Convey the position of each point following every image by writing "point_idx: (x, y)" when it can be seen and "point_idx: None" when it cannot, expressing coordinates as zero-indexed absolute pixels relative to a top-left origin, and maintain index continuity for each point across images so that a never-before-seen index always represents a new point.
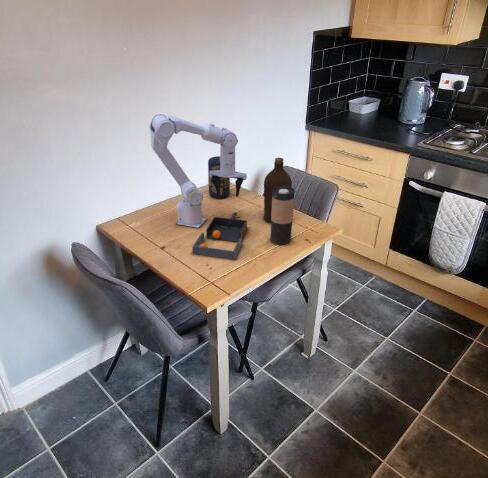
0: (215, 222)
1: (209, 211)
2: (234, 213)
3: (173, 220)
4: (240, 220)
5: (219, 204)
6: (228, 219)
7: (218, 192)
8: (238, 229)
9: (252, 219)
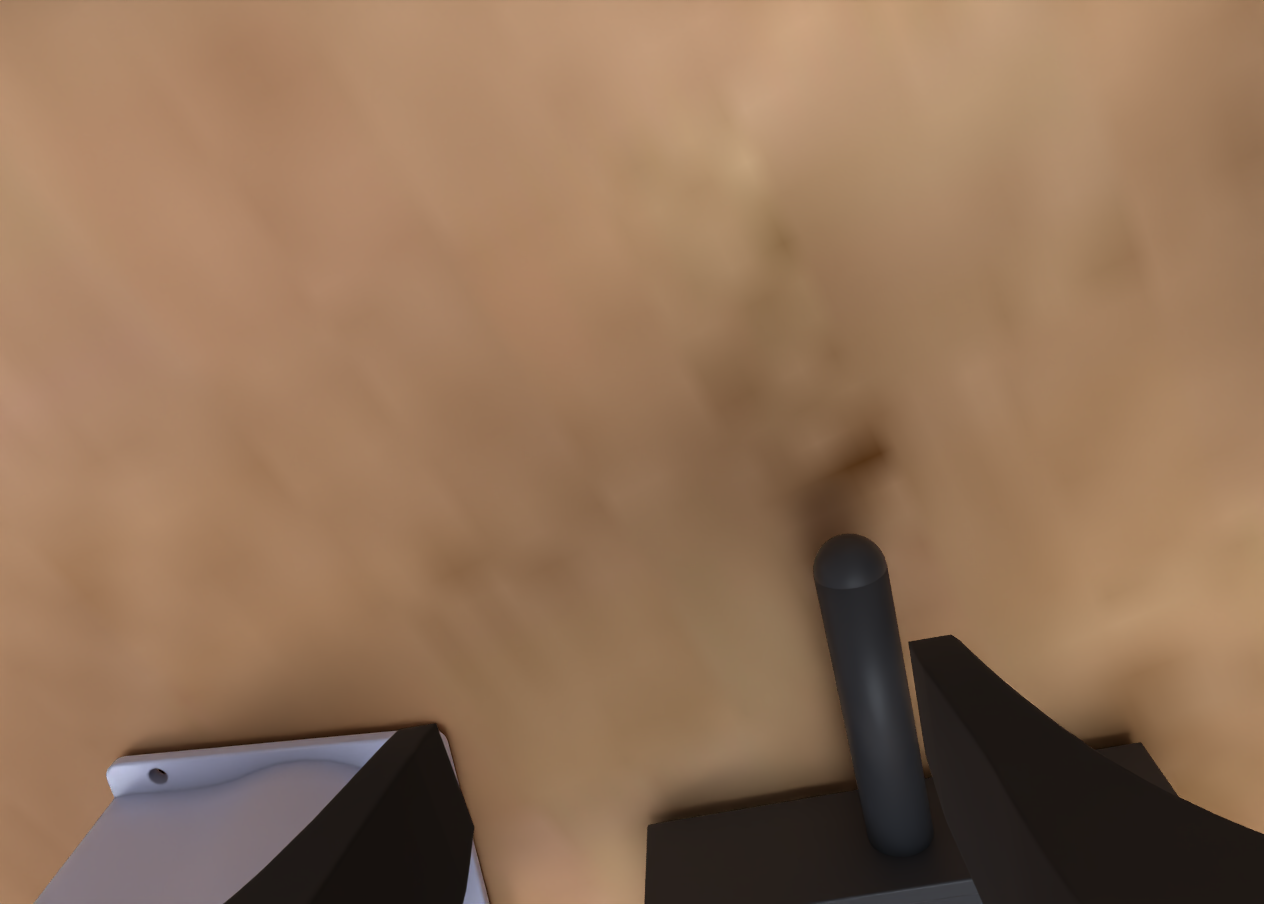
0: (670, 869)
1: (311, 480)
2: (863, 633)
3: None
4: None
5: (281, 141)
6: (887, 900)
7: (463, 900)
8: None
9: (1123, 419)
